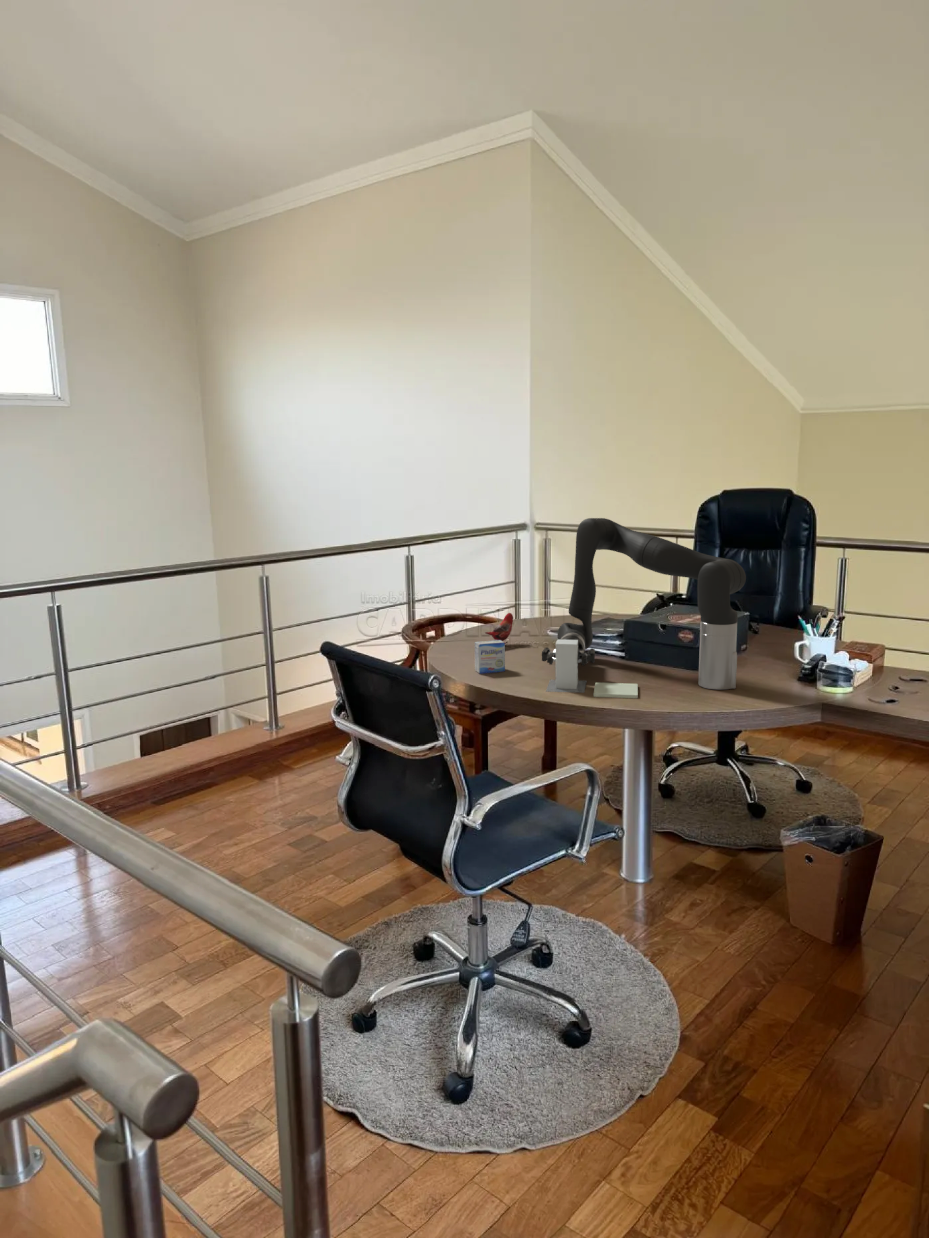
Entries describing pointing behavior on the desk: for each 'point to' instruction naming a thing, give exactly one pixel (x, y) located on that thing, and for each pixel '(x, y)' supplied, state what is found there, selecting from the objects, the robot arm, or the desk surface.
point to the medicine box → (489, 656)
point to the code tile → (579, 689)
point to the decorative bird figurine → (503, 628)
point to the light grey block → (566, 664)
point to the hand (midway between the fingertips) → (566, 661)
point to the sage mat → (616, 690)
